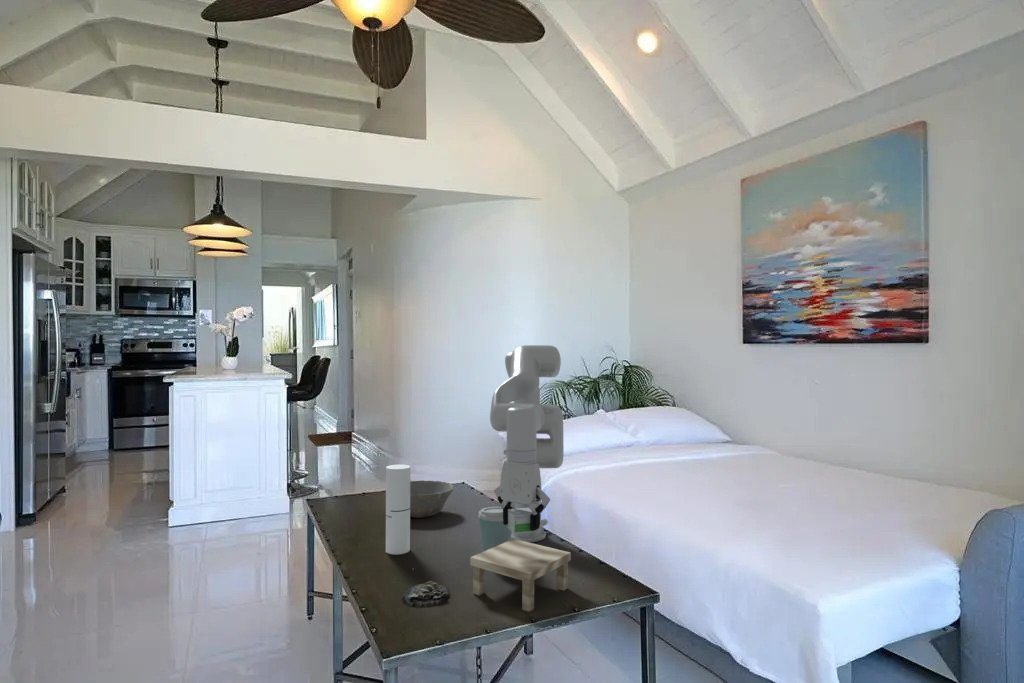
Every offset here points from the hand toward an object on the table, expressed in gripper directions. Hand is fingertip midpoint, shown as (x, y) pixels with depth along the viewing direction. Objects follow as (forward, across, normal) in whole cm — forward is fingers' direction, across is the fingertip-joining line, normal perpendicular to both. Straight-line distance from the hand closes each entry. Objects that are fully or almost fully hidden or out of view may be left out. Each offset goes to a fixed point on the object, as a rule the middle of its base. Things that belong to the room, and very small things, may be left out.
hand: (521, 526), depth 151 cm
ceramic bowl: (+16, -69, +34) cm, 79 cm away
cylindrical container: (+16, -47, +2) cm, 50 cm away
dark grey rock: (+17, -16, -17) cm, 29 cm away
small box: (+1, 0, 0) cm, 1 cm away
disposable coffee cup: (+16, -18, +13) cm, 28 cm away
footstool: (+16, 0, 0) cm, 16 cm away
